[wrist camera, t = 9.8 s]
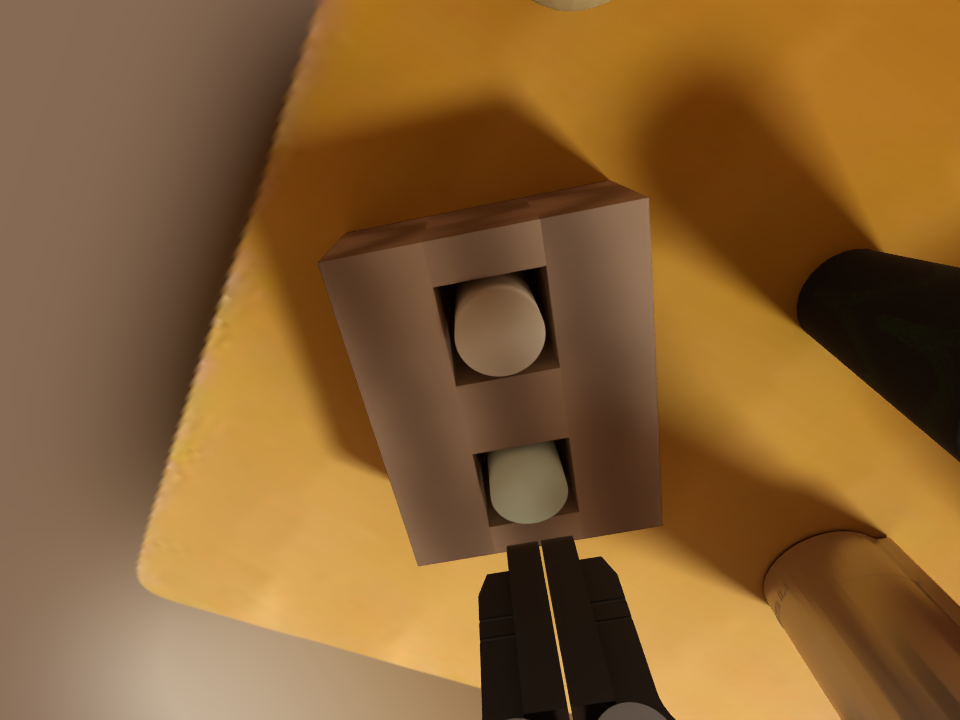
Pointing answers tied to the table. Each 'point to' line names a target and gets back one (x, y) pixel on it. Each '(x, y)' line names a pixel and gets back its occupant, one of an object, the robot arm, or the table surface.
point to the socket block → (521, 396)
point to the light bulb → (571, 4)
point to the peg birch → (498, 324)
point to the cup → (893, 332)
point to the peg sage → (527, 482)
